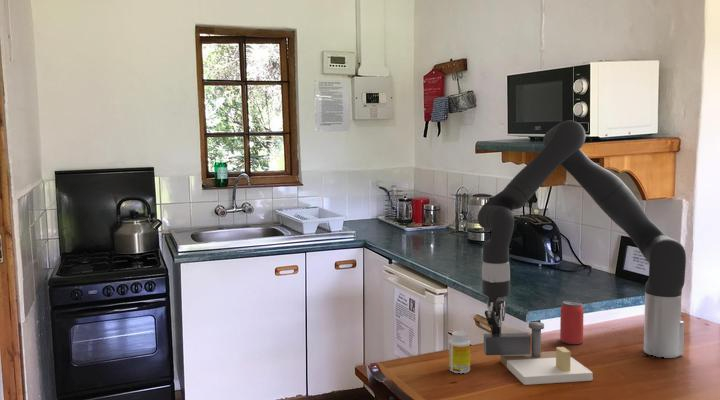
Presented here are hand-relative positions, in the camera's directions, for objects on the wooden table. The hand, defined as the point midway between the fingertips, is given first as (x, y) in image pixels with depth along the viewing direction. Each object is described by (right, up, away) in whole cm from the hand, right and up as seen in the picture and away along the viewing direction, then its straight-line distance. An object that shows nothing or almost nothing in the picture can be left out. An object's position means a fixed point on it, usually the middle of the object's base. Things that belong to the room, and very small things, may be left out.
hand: (496, 338), depth 170 cm
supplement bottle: (-11, -7, -7) cm, 15 cm away
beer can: (+26, -5, +15) cm, 31 cm away
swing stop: (+2, -3, -3) cm, 5 cm away
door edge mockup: (+11, -6, -8) cm, 15 cm away
